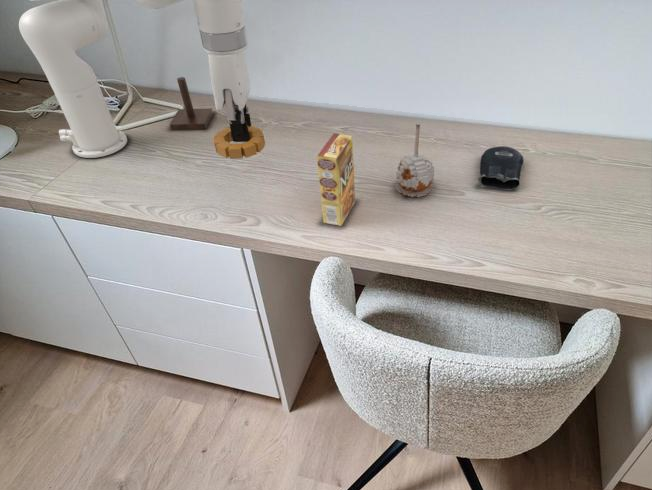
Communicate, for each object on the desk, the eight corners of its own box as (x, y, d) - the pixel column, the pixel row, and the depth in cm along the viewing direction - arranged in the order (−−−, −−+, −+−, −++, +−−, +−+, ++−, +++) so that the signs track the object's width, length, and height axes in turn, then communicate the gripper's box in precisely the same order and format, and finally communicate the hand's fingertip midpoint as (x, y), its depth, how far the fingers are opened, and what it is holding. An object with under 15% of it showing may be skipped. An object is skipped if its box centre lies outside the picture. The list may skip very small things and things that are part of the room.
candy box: (342, 227, 97) (338, 158, 87) (322, 223, 98) (315, 155, 88) (356, 202, 103) (353, 135, 93) (337, 198, 104) (332, 132, 94)
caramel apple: (390, 183, 108) (391, 119, 98) (421, 175, 110) (426, 112, 100) (405, 202, 103) (408, 136, 92) (438, 193, 105) (445, 128, 94)
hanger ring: (210, 159, 90) (208, 149, 89) (220, 134, 97) (218, 125, 96) (261, 158, 90) (260, 148, 89) (268, 134, 97) (266, 124, 96)
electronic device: (521, 197, 106) (523, 154, 115) (522, 177, 102) (525, 133, 111) (476, 196, 108) (482, 154, 117) (476, 176, 104) (482, 134, 113)
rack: (171, 129, 128) (157, 86, 120) (180, 114, 134) (168, 71, 127) (205, 129, 128) (194, 85, 120) (213, 113, 134) (202, 71, 126)
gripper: (212, 22, 89) (231, 118, 102) (190, 56, 78) (215, 159, 90) (253, 22, 89) (267, 117, 102) (238, 56, 78) (256, 158, 90)
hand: (242, 136), depth 96 cm, fingers closed on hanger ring, 2 cm apart
